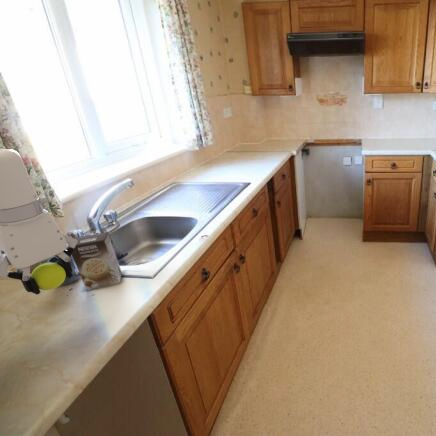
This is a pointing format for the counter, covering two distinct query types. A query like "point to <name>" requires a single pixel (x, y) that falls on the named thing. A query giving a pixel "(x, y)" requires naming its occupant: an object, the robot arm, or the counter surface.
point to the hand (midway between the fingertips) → (51, 283)
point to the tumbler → (74, 272)
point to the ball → (49, 276)
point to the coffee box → (96, 261)
